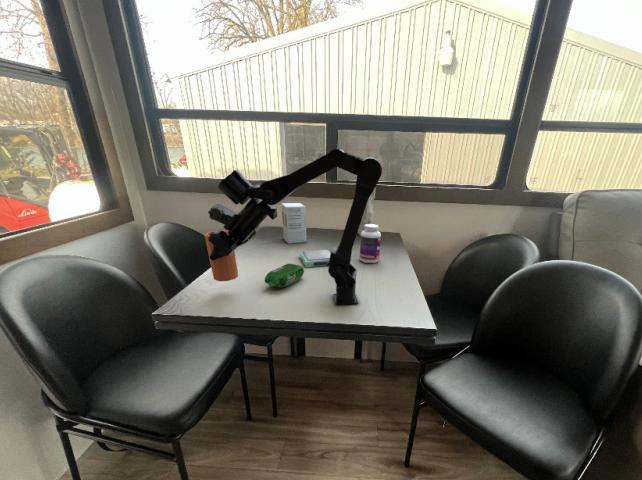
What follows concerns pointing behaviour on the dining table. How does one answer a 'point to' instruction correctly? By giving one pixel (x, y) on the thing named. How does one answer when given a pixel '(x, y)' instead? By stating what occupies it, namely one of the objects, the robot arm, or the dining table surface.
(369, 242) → the pill bottle
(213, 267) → the jar
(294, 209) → the supplement box
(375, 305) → the dining table surface
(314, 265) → the scale
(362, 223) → the vase
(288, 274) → the snack package
